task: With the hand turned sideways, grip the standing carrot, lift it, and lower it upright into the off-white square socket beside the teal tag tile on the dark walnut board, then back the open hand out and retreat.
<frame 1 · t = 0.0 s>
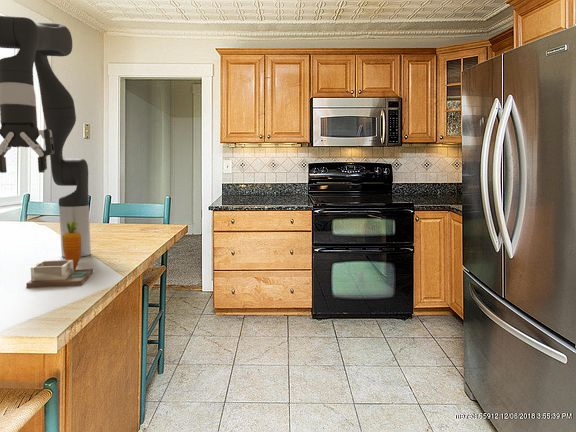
hand: (22, 172, 110), 29 cm above the table, tool pointing down, fingers open, 8 cm apart
socket board: (62, 279, 123), on the table
carrot: (73, 270, 134), on the table
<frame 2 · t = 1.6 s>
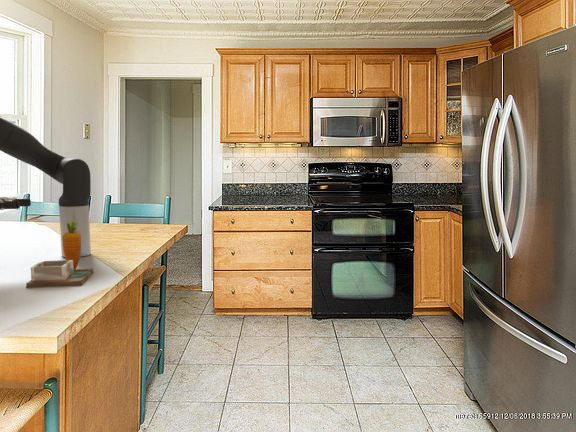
hand: (25, 203, 130), 20 cm above the table, tool horizontal, fingers open, 8 cm apart
nothing on the table moved.
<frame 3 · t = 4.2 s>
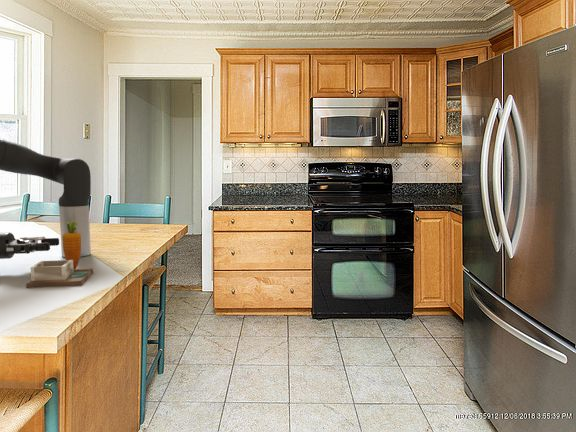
hand: (54, 244, 132), 8 cm above the table, tool horizontal, fingers open, 8 cm apart
nothing on the table moved.
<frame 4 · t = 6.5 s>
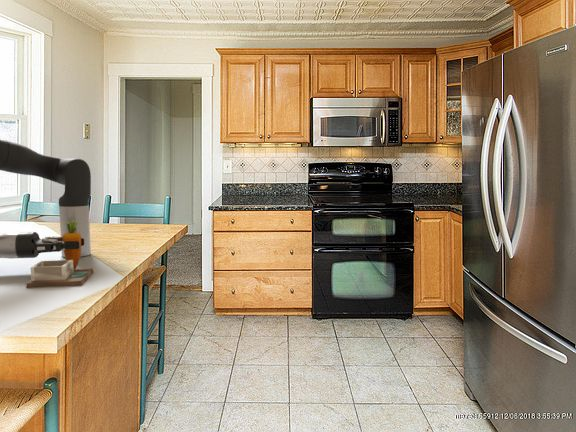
hand: (81, 243, 134), 8 cm above the table, tool horizontal, fingers closed on carrot, 4 cm apart
carrot: (73, 270, 134), on the table, touching gripper
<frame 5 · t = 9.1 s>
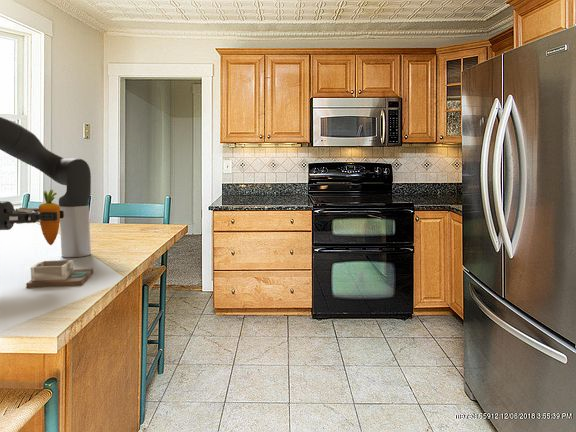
hand: (60, 215, 121), 18 cm above the table, tool horizontal, fingers closed on carrot, 4 cm apart
carrot: (50, 245, 121), point 9 cm above the table, touching gripper
when the fingers open (10 cm above the table, at t = 11.7 s): carrot drops 1 cm, resting on socket board.
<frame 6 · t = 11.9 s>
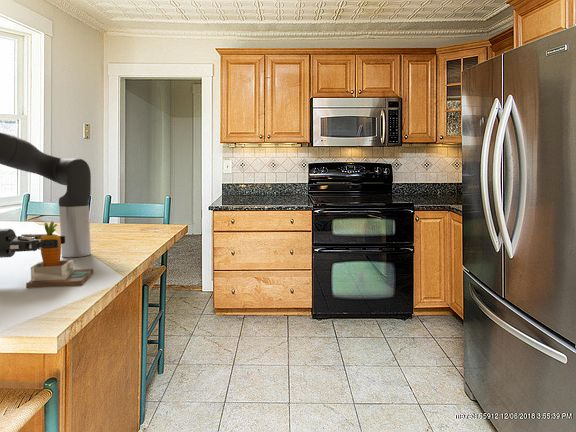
hand: (61, 241, 121), 11 cm above the table, tool horizontal, fingers open, 5 cm apart
carrot: (52, 277, 122), point 1 cm above the table, touching socket board
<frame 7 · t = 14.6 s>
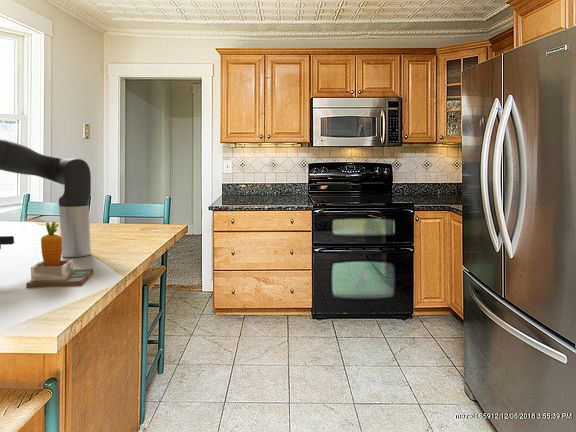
hand: (7, 242, 119), 11 cm above the table, tool horizontal, fingers open, 8 cm apart
nothing on the table moved.
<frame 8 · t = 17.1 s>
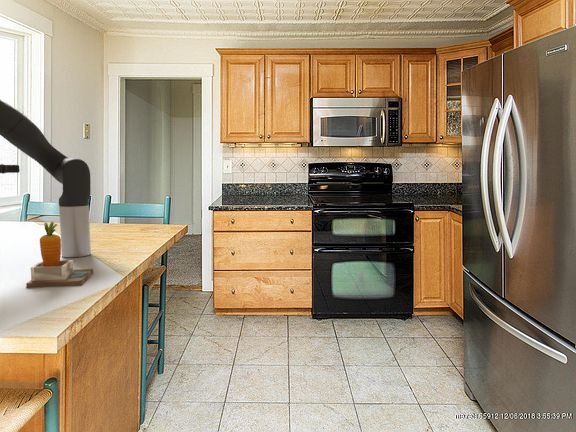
hand: (13, 168, 124), 30 cm above the table, tool horizontal, fingers open, 8 cm apart
nothing on the table moved.
at the end: carrot 0.2 cm from the target spot on the socket board, point 1.0 cm above the socket board's base; carrot tilted 1°; the gripper is holding nothing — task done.
